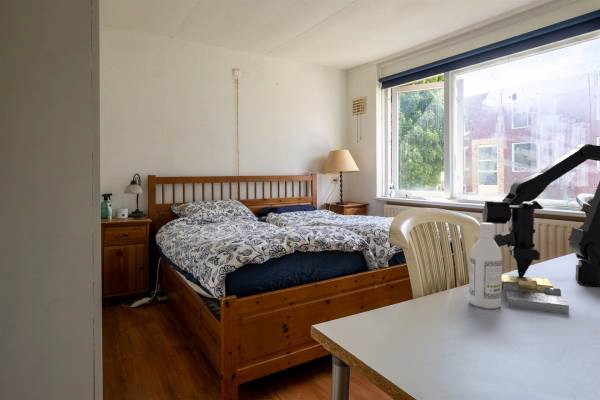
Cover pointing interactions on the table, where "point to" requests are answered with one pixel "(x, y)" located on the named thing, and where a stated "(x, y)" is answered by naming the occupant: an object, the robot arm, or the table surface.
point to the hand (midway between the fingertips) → (520, 276)
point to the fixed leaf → (536, 299)
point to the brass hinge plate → (527, 283)
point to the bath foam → (485, 270)
